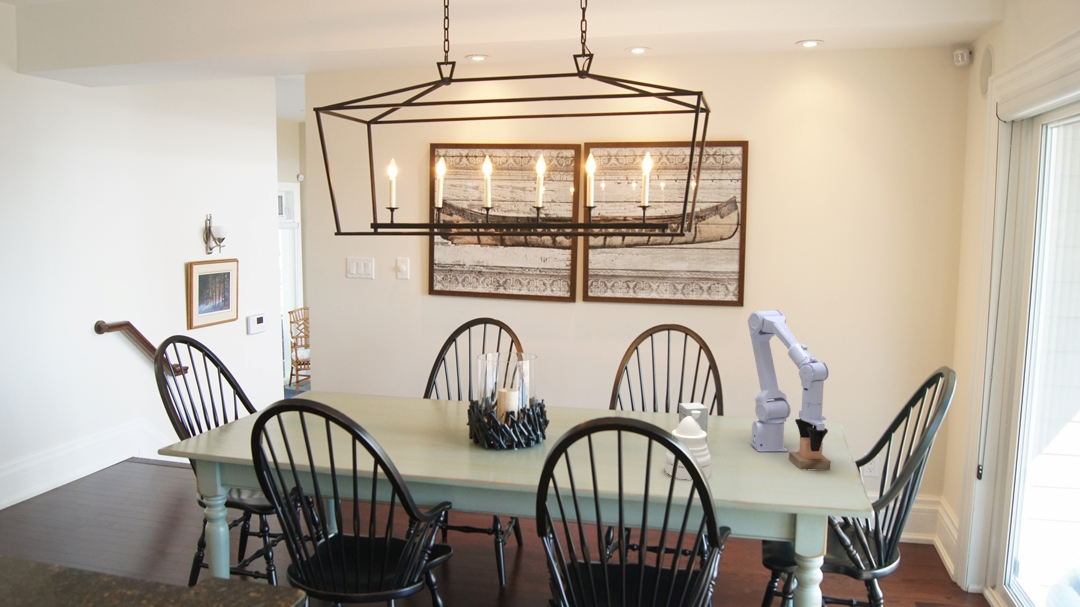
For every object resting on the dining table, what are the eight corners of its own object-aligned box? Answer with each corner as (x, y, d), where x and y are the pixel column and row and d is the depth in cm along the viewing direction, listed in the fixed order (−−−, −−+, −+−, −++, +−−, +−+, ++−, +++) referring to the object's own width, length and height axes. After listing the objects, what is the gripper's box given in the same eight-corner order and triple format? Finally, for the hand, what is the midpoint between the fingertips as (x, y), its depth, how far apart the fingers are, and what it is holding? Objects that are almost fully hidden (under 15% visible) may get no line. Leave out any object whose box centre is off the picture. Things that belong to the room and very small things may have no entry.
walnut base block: (799, 471, 223) (800, 461, 223) (788, 461, 232) (789, 451, 232) (830, 471, 224) (830, 461, 223) (818, 461, 233) (818, 451, 232)
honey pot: (701, 464, 228) (703, 405, 226) (717, 479, 215) (719, 417, 213) (659, 466, 226) (661, 406, 224) (673, 481, 213) (674, 418, 211)
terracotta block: (804, 458, 225) (805, 442, 225) (799, 453, 230) (799, 437, 230) (821, 459, 225) (822, 442, 225) (815, 453, 230) (816, 437, 230)
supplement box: (698, 439, 253) (700, 401, 251) (707, 445, 246) (708, 407, 244) (677, 440, 252) (678, 402, 250) (685, 447, 244) (686, 408, 243)
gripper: (835, 408, 219) (833, 454, 220) (815, 396, 233) (813, 439, 235) (811, 408, 218) (809, 454, 220) (793, 396, 233) (791, 439, 234)
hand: (810, 447), depth 227 cm, fingers open, 7 cm apart
